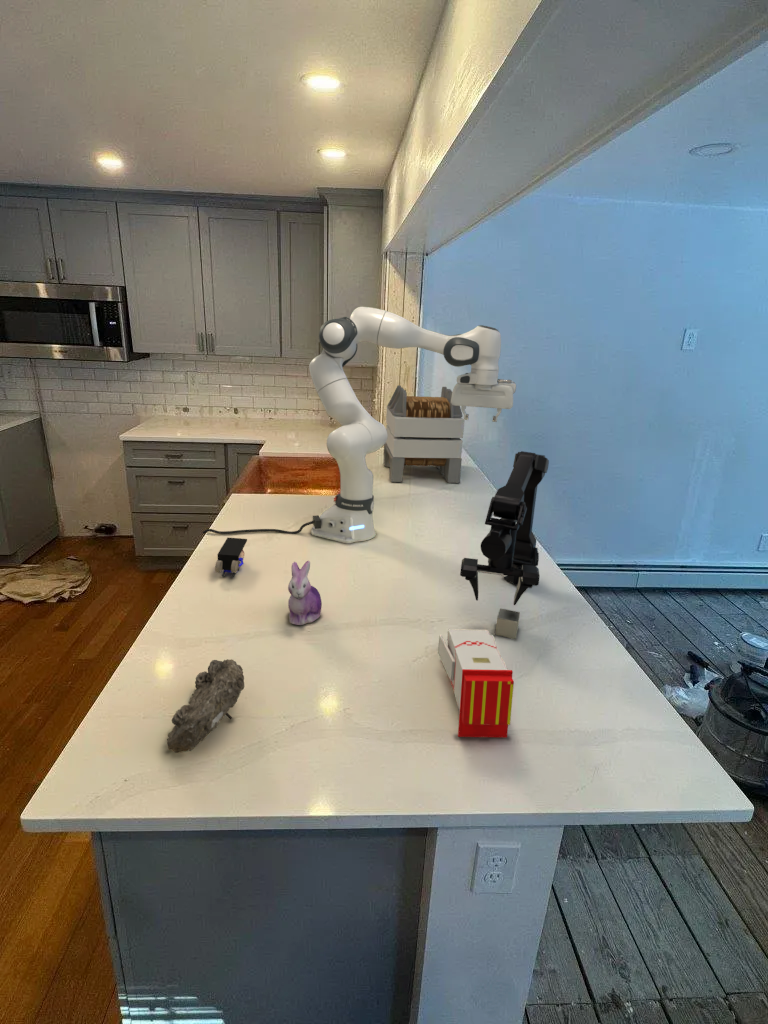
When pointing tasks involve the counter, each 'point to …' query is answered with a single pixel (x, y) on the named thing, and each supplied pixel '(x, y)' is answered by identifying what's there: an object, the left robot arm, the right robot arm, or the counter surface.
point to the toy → (478, 682)
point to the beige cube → (507, 623)
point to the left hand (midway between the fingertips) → (480, 420)
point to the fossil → (206, 705)
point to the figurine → (303, 597)
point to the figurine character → (230, 556)
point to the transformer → (423, 434)
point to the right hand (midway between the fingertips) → (495, 602)
